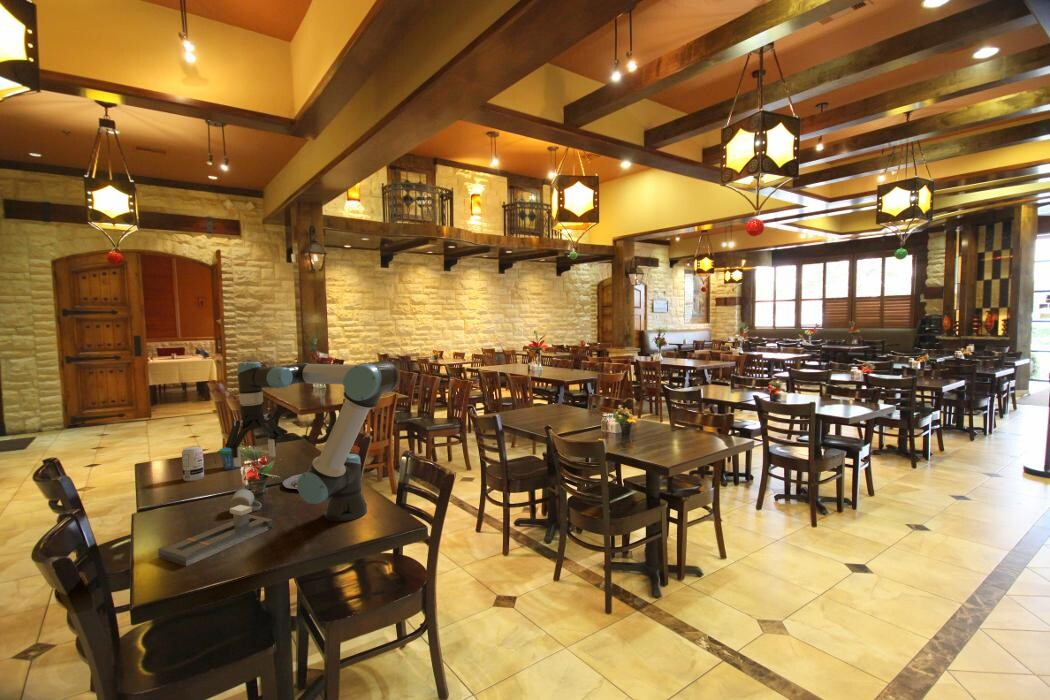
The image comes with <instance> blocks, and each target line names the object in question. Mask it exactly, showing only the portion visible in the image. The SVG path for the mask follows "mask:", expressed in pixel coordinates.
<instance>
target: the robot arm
mask: <svg viewBox="0 0 1050 700" xmlns="http://www.w3.org/2000/svg"><path fill="white" fill-rule="evenodd" d="M237 380H238V381H237V383H238V394H239V395H238V396H239V404H240V406H239V410H240V411H239V413H240V416H241V419H239V420H238V419H237V420H236V419H234V420H232V428H231V429H230V432H229V435H228V437H227V439H226V442H225V446H224V447H226V448H230V449H231V452H232V458H234V466H237V467H238V468H240V467H242V460H241V453H240V448H238V446H241V443H242V442H243V440H244V438H245V437H246V436H247V433H249V431H252V430H253V431H254V430H256V429H259V430H261V431H262V432H263V433H264V434H265V435H266V436H267V437H268V439H267V447H268V456H269V457H273V458H274V457H276V448H277V439H279V437H281V435H282V434H281V432H280V430H279V429H278V426H277V425H276V423H275V421H274V420H273V416H272V413H265V414H264V412H265V410H264V409H265V406H264V404H263V402H264V392H263V388H265V389H281V388H283V389H284V388H287V387H289V386H291V385H296V384H297V385H298V384H307V385H308V384H311V385H312V384H315V385H342V386H343V394H342V395H343V397H344V399H345V400H344V403H343V405H342V407H341V410H340V412H339V414H338V416H337V418H336V420H335V423H334V424H333V427H332V429H331V431H330V434H328V435H329V436H328V438H327V440H326V441H325V443H324V446H323V449H322V451H321V454H320V455H318V456H316V457H314V459H313V460H312V462H311V464H310V466H309V468H308V470H307V471H306V472H302V473H301V474H302V475H301V476H300V477H299V479H298V481H297V489H298V490H297V489H296V490H297V491H298V494H299V496H300V497H301V499H302V500H303V501H305V502H306V503H308V504H310V505H318V504H321V503H323V502H326V501H327V504H326V508H325V510H324V518H325V519H326V520H327V521H329V522H330V521H331V522H347V521H352V520H356V519H359V518H361V517H363V516H365V515H366V514H367V513H368V505H367V503H366V501H365V498H364V494H363V490H362V463H361V457H360V455H359V454H357V453H351V450H352V448H353V445H354V444H355V441H356V439H357V437H358V435H359V433H360V431H361V428H362V427H363V424H364V422H365V420H366V418H367V416H368V414H369V412H370V410H371V409H374V408H376V407H377V406H378V403H379V401H380V399H381V397H382V396H383V394H384V395H385V394H387V393H390V392H392V391H393V390H394V389H396V387H397V386H398V385H399V381H400V372H399V370H398V368H397V366H396V365H395V364H393V363H392V362H391V361H387V360H378V361H373V362H370V361H369V362H363V363H359V364H340V363H339V364H337V363H335V364H331V363H329V364H328V363H327V364H326V363H308V362H298V363H293V364H284V365H279V366H278V365H277V366H263V367H262V363H261V362H260V361H243V362H239V363H238V364H237ZM264 420H265V422H266V423H264Z"/></svg>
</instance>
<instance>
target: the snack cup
mask: <svg viewBox="0 0 1050 700" xmlns="http://www.w3.org/2000/svg"><path fill="white" fill-rule="evenodd" d="M238 447H244V446H243V445H239V446H238ZM218 453H219V456H220V459H221V462H222V465H223V467H222V468H223V469H224V470H236V469H238V468H239V467H237V466H234V458H232V452H231V449H230V448H226V447H225V446H224V447H222V448H220V449H219V450H217V451H216V452H215V453H214V456H213V463H214V464H217V461H216V455H217V454H218ZM242 456H243V453H242V454H241V461H242V459H243V457H242Z"/></svg>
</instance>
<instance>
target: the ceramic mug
mask: <svg viewBox="0 0 1050 700" xmlns="http://www.w3.org/2000/svg"><path fill="white" fill-rule="evenodd" d="M238 505H244V506H248V507H252V511H259V510H261V509H262V503H261V502H260V501H257V500H255V495H254V493H253V492H252V491H251V490H249V489H245V488H244V489H243V488H242V489H239V490H237V491H236V492H234V494H233V495H232V497H231V499H230V501H229V509H230V508H233V507H236V506H238ZM252 505H255V506H252Z"/></svg>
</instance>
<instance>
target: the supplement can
mask: <svg viewBox="0 0 1050 700" xmlns="http://www.w3.org/2000/svg"><path fill="white" fill-rule="evenodd" d="M181 460H182V461H181V463H182V477H183V479H182V480H183V481H185V482H194V481H199V480H202V479H203V478H204V477H205V466H204V450H203V448H202V447H201V445H194V446H187V447H184V448H183V449H182V451H181Z"/></svg>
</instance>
